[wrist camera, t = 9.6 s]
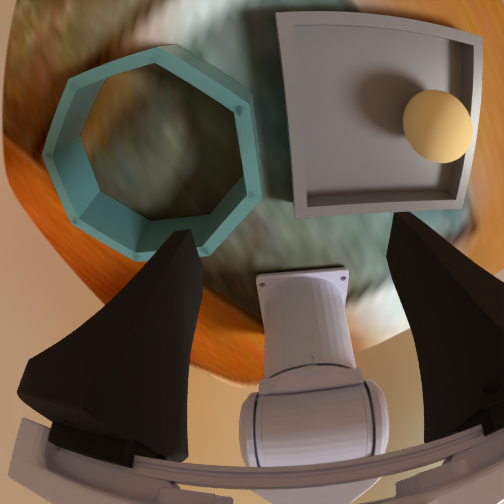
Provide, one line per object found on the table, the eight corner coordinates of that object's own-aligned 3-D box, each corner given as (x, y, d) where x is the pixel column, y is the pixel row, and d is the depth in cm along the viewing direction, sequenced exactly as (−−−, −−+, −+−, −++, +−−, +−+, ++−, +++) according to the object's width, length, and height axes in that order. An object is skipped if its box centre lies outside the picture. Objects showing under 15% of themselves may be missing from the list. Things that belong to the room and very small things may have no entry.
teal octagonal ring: (268, 218, 22) (268, 251, 19) (110, 234, 24) (93, 265, 21) (243, 32, 14) (238, 30, 11) (56, 87, 15) (23, 101, 12)
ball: (400, 142, 18) (460, 154, 16) (400, 167, 15) (472, 182, 13) (402, 80, 15) (467, 92, 13) (404, 89, 12) (484, 106, 10)
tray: (450, 194, 20) (461, 208, 19) (292, 202, 21) (295, 218, 20) (465, 34, 12) (482, 36, 10) (273, 15, 13) (275, 12, 12)
